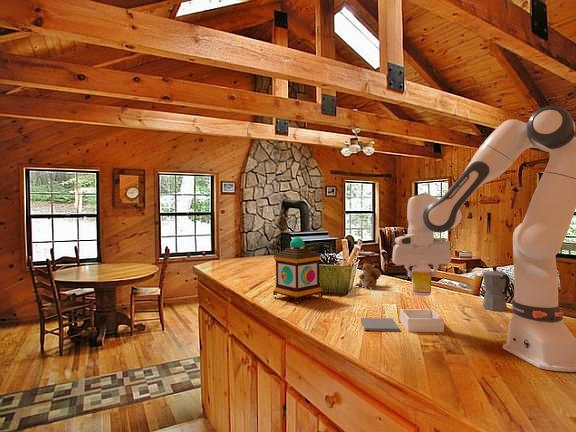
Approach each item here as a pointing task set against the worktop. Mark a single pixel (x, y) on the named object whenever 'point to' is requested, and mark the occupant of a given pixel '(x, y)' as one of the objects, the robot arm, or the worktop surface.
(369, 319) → the mat
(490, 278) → the coffeepot
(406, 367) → the worktop surface
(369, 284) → the stuffed squirrel
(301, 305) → the worktop surface
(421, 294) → the supplement bottle
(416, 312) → the bin
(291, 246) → the decorative lantern
